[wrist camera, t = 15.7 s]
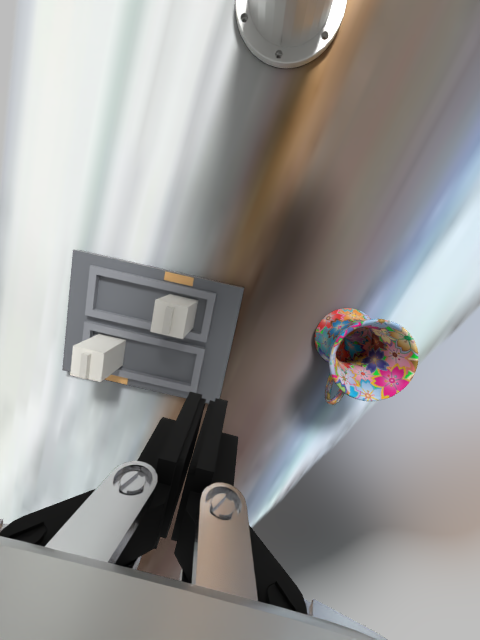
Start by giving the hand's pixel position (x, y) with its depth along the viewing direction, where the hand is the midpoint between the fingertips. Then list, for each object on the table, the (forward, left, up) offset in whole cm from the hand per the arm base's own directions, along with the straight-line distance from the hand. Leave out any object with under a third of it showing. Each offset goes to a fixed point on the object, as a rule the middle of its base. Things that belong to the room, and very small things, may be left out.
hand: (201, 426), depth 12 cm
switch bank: (+6, -12, -29) cm, 32 cm away
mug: (+2, +15, -29) cm, 33 cm away
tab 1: (+10, -17, -27) cm, 34 cm away
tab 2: (+2, -8, -27) cm, 29 cm away
